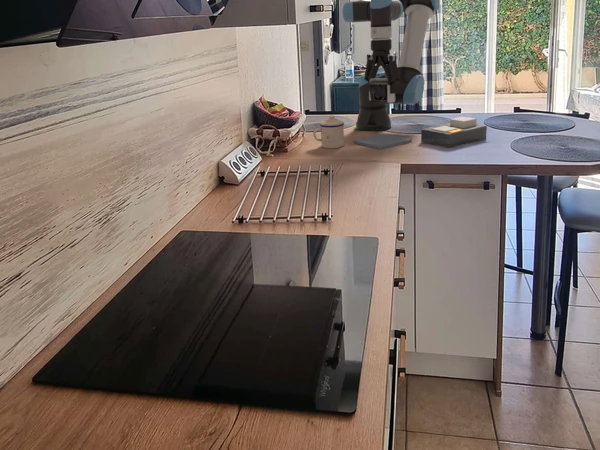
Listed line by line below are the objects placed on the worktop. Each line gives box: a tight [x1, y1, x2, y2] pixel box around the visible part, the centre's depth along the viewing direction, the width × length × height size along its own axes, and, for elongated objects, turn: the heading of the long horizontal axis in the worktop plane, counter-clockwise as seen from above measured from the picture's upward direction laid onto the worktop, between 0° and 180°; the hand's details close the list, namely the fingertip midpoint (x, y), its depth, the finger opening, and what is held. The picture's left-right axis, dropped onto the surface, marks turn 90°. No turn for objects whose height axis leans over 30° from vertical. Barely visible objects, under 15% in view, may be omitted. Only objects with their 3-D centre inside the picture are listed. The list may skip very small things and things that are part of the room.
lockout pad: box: [352, 133, 413, 150], centre depth 223 cm, size 16×16×1 cm
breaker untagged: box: [449, 116, 478, 128], centre depth 219 cm, size 7×7×3 cm
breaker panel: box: [420, 122, 488, 149], centre depth 218 cm, size 14×20×5 cm
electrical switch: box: [368, 78, 396, 105], centre depth 216 cm, size 9×5×9 cm, turn 56°
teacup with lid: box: [312, 115, 345, 149], centre depth 220 cm, size 12×9×12 cm
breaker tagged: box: [431, 126, 458, 133], centre depth 215 cm, size 7×7×3 cm
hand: (381, 101), depth 218 cm, fingers closed on electrical switch, 10 cm apart
